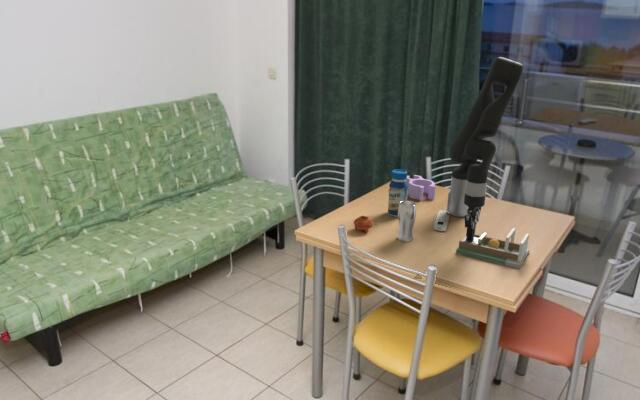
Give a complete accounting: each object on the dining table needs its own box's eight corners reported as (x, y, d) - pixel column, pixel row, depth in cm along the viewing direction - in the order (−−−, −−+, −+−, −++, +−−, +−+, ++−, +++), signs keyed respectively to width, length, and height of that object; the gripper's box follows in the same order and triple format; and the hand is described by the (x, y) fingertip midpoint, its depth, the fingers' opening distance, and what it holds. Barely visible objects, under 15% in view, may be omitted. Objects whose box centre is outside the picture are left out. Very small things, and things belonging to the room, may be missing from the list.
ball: (486, 249, 195) (487, 240, 194) (489, 245, 198) (490, 236, 197) (497, 252, 193) (498, 242, 192) (499, 248, 196) (501, 238, 195)
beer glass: (403, 243, 203) (405, 207, 198) (392, 236, 209) (395, 202, 204) (417, 240, 206) (420, 204, 201) (407, 233, 212) (409, 199, 207)
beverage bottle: (410, 214, 232) (413, 172, 225) (396, 218, 228) (398, 175, 221) (397, 209, 239) (400, 167, 232) (383, 212, 234) (385, 170, 227)
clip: (398, 189, 267) (399, 176, 264) (421, 187, 270) (422, 174, 267) (415, 202, 249) (416, 188, 246) (439, 199, 252) (440, 186, 249)
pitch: (456, 253, 195) (458, 229, 192) (469, 238, 208) (471, 216, 205) (519, 268, 184) (523, 244, 181) (529, 252, 197) (532, 229, 193)
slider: (461, 244, 198) (464, 219, 195) (467, 238, 204) (470, 213, 200) (480, 249, 195) (483, 223, 191) (485, 242, 200) (488, 217, 197)
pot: (358, 224, 221) (362, 210, 218) (373, 232, 217) (377, 218, 214) (348, 229, 214) (352, 215, 211) (363, 238, 211) (368, 224, 208)
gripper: (471, 185, 200) (466, 227, 206) (459, 195, 189) (454, 239, 195) (490, 189, 197) (485, 231, 203) (480, 199, 185) (474, 243, 191)
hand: (470, 235), depth 199 cm, fingers closed on slider, 3 cm apart
